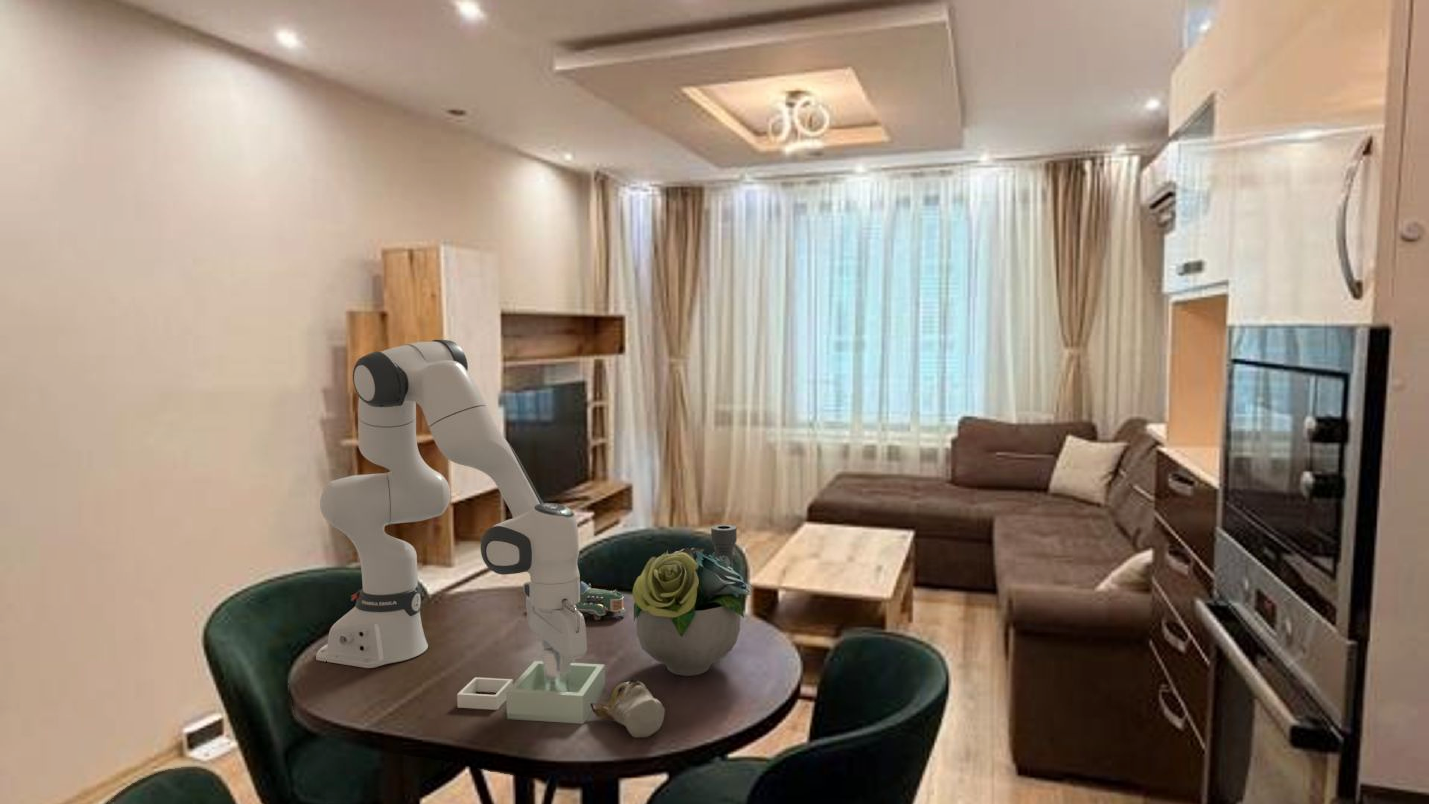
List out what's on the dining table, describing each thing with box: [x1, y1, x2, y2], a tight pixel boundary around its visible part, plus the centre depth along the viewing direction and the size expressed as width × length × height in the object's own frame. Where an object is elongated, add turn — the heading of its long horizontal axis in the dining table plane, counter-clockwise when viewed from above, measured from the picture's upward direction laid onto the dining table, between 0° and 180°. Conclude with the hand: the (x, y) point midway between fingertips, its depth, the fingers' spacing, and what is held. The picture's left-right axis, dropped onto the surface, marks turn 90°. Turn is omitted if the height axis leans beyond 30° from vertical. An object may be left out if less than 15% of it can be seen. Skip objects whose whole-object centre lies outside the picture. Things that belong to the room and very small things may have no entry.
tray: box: [505, 660, 606, 725], centre depth 150 cm, size 14×14×5 cm
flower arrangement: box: [632, 547, 753, 677], centre depth 165 cm, size 25×25×24 cm
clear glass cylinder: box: [542, 647, 569, 692], centre depth 150 cm, size 4×4×9 cm
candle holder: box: [710, 524, 739, 598], centre depth 184 cm, size 6×6×25 cm
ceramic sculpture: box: [590, 678, 666, 739], centre depth 142 cm, size 11×9×15 cm
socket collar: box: [456, 677, 514, 711], centre depth 153 cm, size 8×8×2 cm
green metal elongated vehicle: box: [576, 580, 627, 621], centre depth 201 cm, size 10×25×8 cm, turn 73°
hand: (557, 666), depth 150 cm, fingers open, 5 cm apart
